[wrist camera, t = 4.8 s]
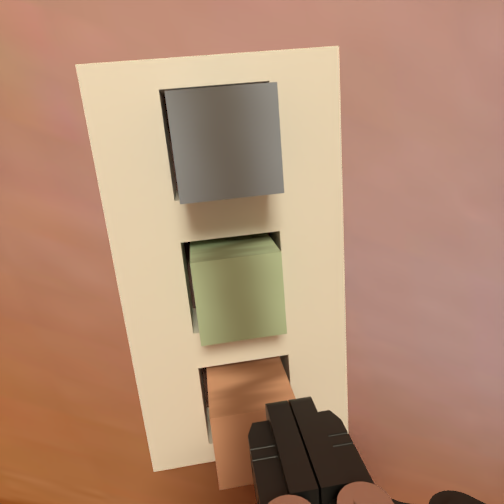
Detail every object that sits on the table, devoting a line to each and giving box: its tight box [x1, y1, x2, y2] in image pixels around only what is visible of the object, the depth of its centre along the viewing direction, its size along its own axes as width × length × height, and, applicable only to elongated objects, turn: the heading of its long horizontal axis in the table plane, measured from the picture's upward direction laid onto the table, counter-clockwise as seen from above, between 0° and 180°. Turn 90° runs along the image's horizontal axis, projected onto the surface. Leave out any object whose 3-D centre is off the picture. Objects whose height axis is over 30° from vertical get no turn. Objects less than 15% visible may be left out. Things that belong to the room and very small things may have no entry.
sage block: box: [190, 233, 287, 346], centre depth 26 cm, size 5×5×6 cm
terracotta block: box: [206, 356, 296, 490], centre depth 27 cm, size 5×5×6 cm
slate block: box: [164, 82, 284, 204], centre depth 22 cm, size 5×5×6 cm
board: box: [75, 46, 348, 472], centre depth 28 cm, size 14×26×4 cm, turn 5°
